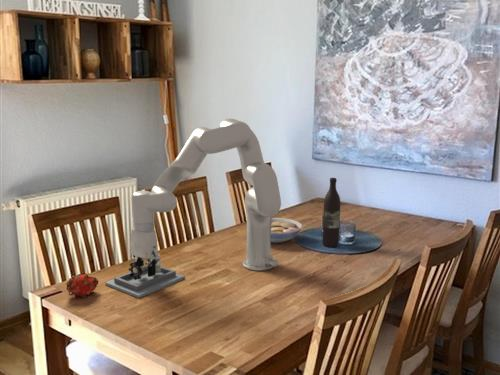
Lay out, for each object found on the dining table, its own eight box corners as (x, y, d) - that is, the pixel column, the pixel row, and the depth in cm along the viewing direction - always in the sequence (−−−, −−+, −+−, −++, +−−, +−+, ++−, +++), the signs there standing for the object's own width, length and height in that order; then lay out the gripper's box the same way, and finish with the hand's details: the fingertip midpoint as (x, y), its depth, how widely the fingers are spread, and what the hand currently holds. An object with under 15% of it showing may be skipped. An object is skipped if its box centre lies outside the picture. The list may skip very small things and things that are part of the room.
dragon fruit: (63, 304, 183) (96, 299, 192) (73, 296, 178) (107, 291, 186) (58, 280, 186) (91, 276, 194) (68, 271, 181) (101, 267, 189)
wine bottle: (320, 246, 237) (323, 179, 230) (324, 241, 243) (327, 176, 237) (336, 248, 234) (339, 180, 228) (340, 243, 241) (343, 177, 234)
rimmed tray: (184, 278, 201) (184, 271, 201) (138, 298, 185) (138, 290, 184) (151, 267, 212) (151, 260, 212) (105, 284, 195) (105, 277, 195)
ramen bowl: (294, 252, 229) (294, 234, 228) (243, 246, 237) (243, 228, 235) (307, 235, 252) (308, 218, 251) (260, 230, 260) (260, 213, 258)
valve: (154, 268, 205) (128, 277, 196) (153, 251, 204) (127, 260, 195) (166, 272, 201) (140, 282, 192) (165, 255, 200) (140, 264, 190)
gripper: (119, 223, 196) (122, 271, 200) (152, 233, 186) (154, 282, 190) (136, 219, 202) (138, 265, 206) (168, 227, 191) (169, 276, 195)
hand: (145, 273), depth 198 cm, fingers closed on valve, 5 cm apart
